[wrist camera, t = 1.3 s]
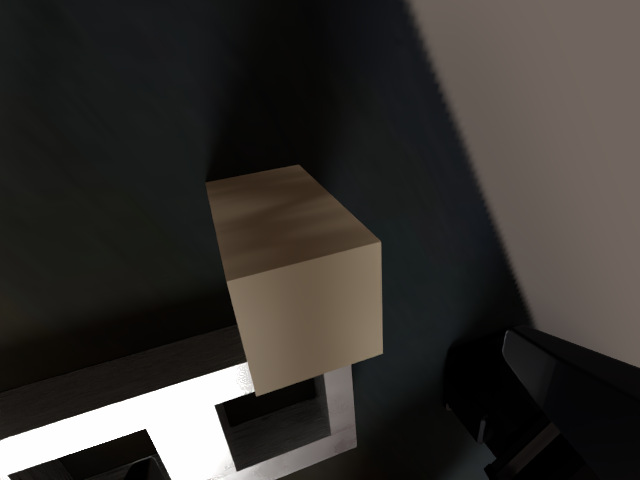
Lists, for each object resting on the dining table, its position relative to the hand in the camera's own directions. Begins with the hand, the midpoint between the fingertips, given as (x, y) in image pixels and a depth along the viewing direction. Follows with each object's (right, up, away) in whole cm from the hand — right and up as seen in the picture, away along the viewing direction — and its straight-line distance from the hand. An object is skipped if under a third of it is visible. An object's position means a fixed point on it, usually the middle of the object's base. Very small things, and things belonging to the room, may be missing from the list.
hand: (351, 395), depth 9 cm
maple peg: (-4, +5, +9) cm, 11 cm away
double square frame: (-8, -6, +13) cm, 17 cm away
